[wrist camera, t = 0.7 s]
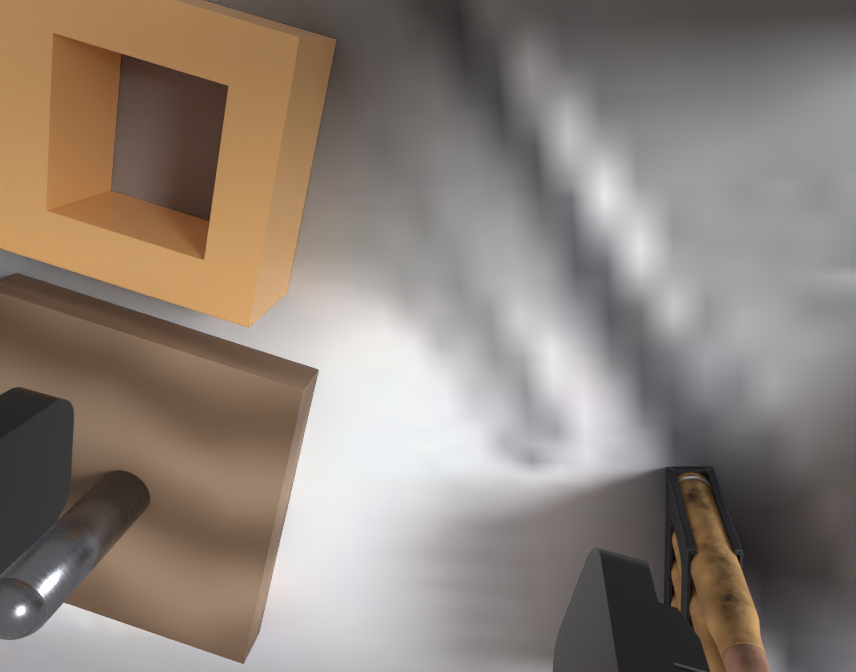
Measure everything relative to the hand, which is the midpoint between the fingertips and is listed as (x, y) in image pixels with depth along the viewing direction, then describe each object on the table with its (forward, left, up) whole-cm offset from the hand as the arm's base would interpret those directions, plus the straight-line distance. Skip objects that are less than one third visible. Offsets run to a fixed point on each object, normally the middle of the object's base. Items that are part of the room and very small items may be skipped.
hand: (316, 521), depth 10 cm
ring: (0, -11, -18) cm, 21 cm away
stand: (+16, -11, -18) cm, 26 cm away
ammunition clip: (+12, +14, -18) cm, 26 cm away
